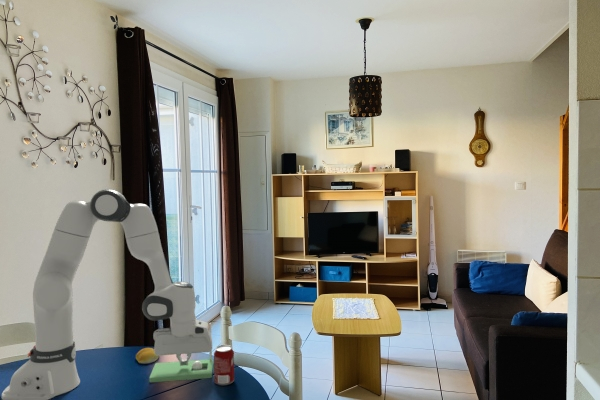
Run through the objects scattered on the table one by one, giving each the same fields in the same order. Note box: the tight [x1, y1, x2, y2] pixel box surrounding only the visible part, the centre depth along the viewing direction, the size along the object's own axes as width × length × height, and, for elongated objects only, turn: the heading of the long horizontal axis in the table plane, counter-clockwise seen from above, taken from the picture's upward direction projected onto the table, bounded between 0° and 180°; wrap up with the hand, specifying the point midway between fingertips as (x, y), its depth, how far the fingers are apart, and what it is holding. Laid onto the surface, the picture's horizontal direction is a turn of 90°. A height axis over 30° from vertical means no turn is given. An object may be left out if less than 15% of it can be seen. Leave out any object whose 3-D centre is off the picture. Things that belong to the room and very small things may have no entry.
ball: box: [192, 361, 202, 371], centre depth 157 cm, size 4×4×4 cm
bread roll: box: [135, 347, 160, 365], centre depth 168 cm, size 8×9×4 cm
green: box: [148, 322, 214, 383], centre depth 155 cm, size 21×12×16 cm, turn 99°
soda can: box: [213, 344, 235, 387], centre depth 148 cm, size 7×7×12 cm
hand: (184, 364), depth 156 cm, fingers closed
